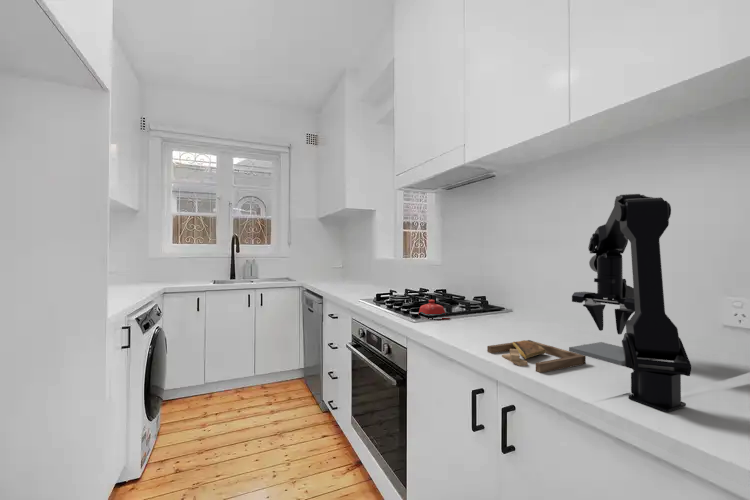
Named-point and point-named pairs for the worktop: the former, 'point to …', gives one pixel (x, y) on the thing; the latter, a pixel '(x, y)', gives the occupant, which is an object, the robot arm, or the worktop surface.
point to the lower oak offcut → (521, 363)
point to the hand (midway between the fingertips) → (610, 332)
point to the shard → (528, 348)
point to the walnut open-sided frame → (564, 356)
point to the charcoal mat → (602, 352)
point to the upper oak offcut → (514, 355)
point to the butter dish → (432, 308)
